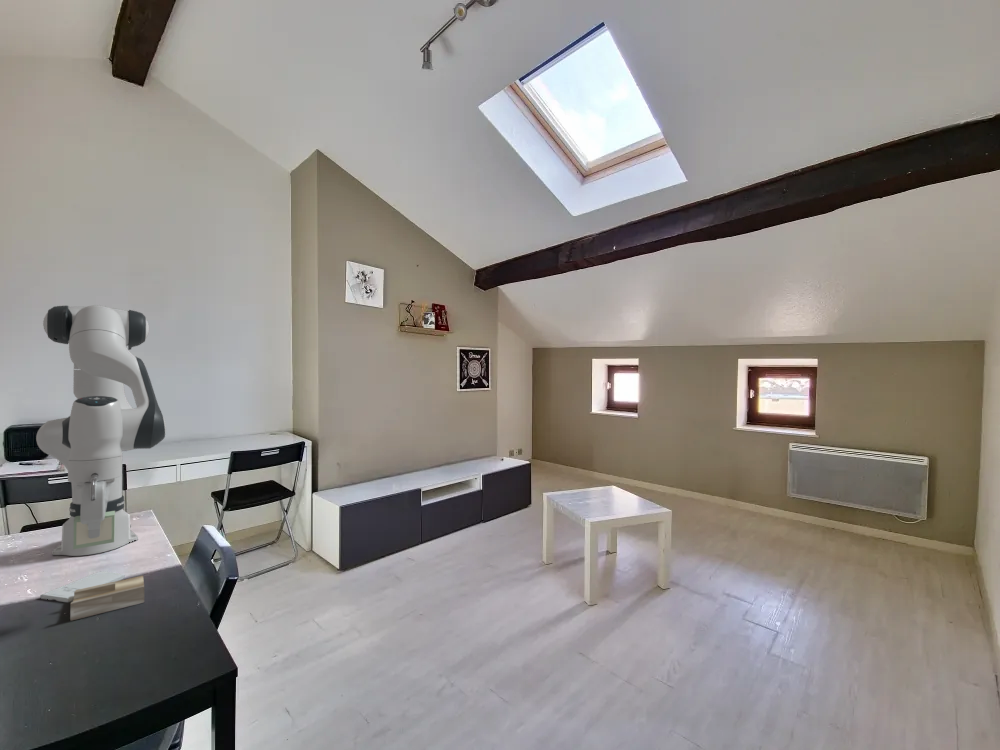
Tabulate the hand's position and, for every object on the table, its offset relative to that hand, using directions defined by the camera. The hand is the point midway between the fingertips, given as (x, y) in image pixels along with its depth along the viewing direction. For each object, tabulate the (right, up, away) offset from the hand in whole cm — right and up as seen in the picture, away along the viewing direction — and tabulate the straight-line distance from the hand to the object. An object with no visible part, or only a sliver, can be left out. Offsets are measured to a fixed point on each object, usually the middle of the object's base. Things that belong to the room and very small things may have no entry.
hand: (95, 533), depth 97 cm
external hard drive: (-11, -17, +10) cm, 23 cm away
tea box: (0, -2, 0) cm, 2 cm away
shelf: (0, -17, +4) cm, 17 cm away
